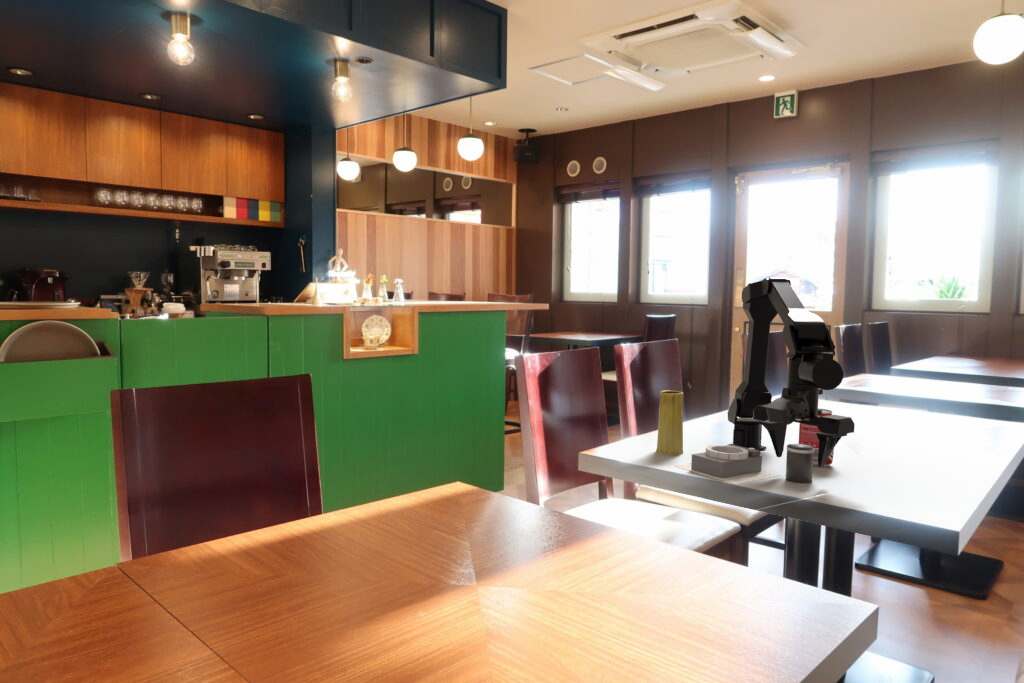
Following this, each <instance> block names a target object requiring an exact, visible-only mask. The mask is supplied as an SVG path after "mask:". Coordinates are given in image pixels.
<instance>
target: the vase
mask: <svg viewBox="0 0 1024 683" xmlns="http://www.w3.org/2000/svg"><path fill="white" fill-rule="evenodd" d="M683 425H684V392H683V391H678V390H661V391H660V392H659V407H658V425H657V427H658V428H657V442H656V451H655V452H656V453H658V454H661V455H664V456H665V455H666V456H680V455H683V454H684V445H683V444H684V429H683V427H684V426H683Z"/></svg>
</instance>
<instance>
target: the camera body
mask: <svg viewBox="0 0 1024 683" xmlns="http://www.w3.org/2000/svg"><path fill="white" fill-rule="evenodd" d="M730 444H731V445H728V444H725V445H723V444H716V445H708V446H706V447H705V451H704V452H698V453H692V454H691V462H690V463H691V470H694V471H698V472H701V473H705V474H708V475H711V476H715V477H718V478H722V479H723V478H728V477H733V476H739V475H744V474H750V473H755V472H760V471H761V470H762V464H763V461H762V460H763V457H762V455H761V450H755V449H754V448H746V447H741V446H737V445H733V443H730Z"/></svg>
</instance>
